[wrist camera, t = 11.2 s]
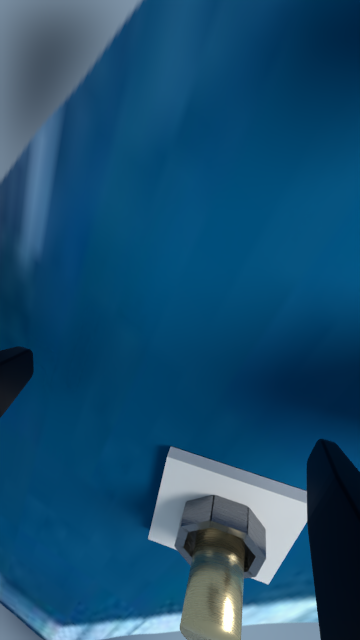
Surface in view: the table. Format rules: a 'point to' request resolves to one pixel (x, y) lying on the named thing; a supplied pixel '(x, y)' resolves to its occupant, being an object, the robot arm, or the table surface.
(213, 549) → the brass cylinder
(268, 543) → the socket base
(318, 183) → the table surface
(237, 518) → the socket collar
